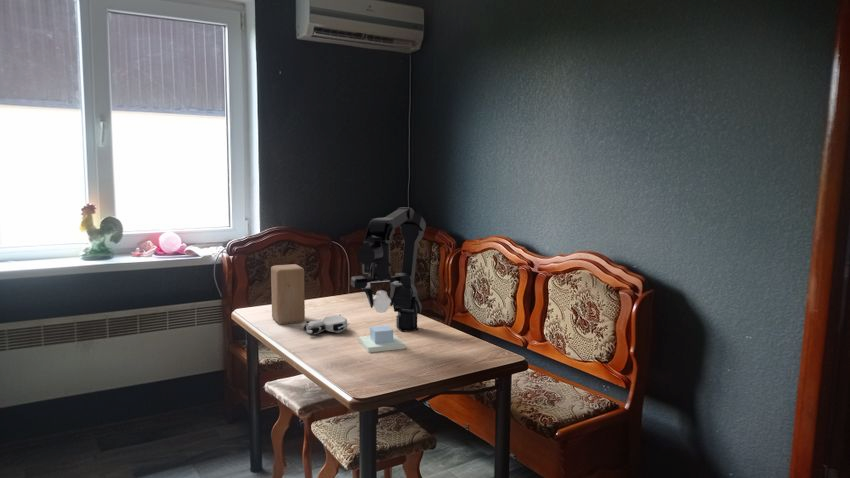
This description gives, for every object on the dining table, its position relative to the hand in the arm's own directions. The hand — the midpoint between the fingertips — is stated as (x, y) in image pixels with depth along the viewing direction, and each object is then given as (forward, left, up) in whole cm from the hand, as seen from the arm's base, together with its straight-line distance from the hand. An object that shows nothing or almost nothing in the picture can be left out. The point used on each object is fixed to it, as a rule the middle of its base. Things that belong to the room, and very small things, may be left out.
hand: (381, 306), depth 201 cm
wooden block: (+24, -39, -13) cm, 48 cm away
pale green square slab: (0, 0, -13) cm, 13 cm away
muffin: (0, 0, -2) cm, 2 cm away
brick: (0, 0, -11) cm, 11 cm away
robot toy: (+14, -21, -13) cm, 28 cm away
